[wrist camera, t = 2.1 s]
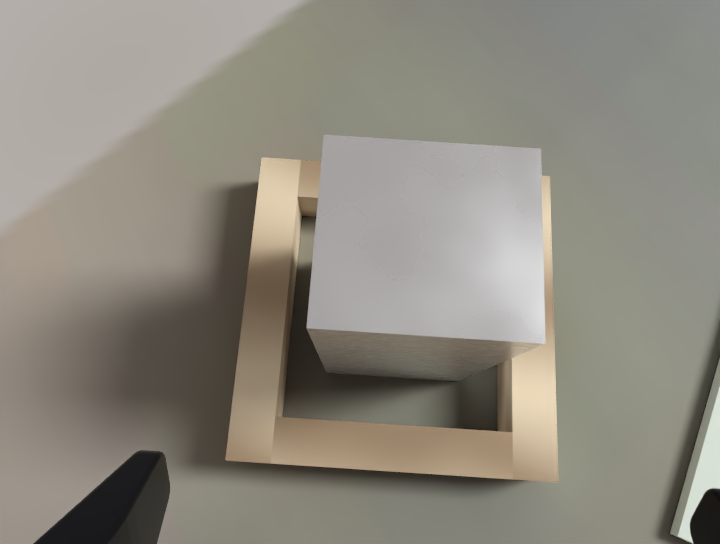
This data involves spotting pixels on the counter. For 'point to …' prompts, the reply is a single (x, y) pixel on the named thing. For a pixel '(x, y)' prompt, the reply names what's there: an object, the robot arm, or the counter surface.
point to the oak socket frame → (359, 439)
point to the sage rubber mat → (701, 464)
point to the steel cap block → (426, 257)
